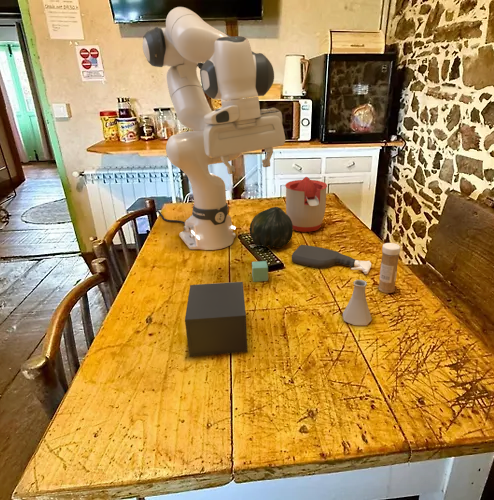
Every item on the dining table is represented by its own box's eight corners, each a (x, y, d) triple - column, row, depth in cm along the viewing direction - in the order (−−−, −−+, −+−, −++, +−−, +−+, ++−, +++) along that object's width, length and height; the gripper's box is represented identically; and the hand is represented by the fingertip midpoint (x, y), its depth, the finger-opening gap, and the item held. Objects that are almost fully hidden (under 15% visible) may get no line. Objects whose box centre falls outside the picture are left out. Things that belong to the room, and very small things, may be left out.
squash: (246, 222, 145) (250, 200, 131) (285, 220, 148) (294, 199, 134) (250, 257, 139) (256, 238, 126) (291, 254, 142) (301, 236, 129)
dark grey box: (193, 318, 99) (190, 284, 95) (244, 314, 100) (242, 281, 96) (189, 356, 85) (184, 319, 81) (247, 352, 87) (245, 315, 83)
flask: (369, 329, 94) (373, 292, 89) (339, 323, 96) (342, 287, 92) (373, 313, 100) (377, 278, 96) (345, 307, 102) (347, 273, 98)
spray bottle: (301, 250, 134) (373, 264, 125) (288, 263, 125) (366, 279, 116) (301, 242, 133) (374, 256, 124) (289, 255, 124) (367, 270, 115)
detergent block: (252, 274, 119) (251, 261, 117) (266, 273, 120) (266, 260, 118) (253, 281, 115) (252, 268, 113) (268, 280, 116) (267, 267, 114)
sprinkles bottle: (398, 290, 109) (404, 246, 104) (386, 295, 107) (392, 250, 102) (385, 283, 113) (390, 240, 107) (374, 288, 111) (379, 244, 105)
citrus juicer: (293, 238, 144) (293, 185, 136) (280, 222, 160) (280, 173, 151) (333, 234, 148) (336, 181, 139) (317, 218, 163) (319, 170, 155)
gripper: (275, 106, 100) (281, 161, 105) (197, 117, 93) (207, 175, 98) (286, 106, 95) (292, 164, 100) (204, 117, 88) (214, 179, 93)
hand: (249, 170), depth 99 cm, fingers open, 8 cm apart
